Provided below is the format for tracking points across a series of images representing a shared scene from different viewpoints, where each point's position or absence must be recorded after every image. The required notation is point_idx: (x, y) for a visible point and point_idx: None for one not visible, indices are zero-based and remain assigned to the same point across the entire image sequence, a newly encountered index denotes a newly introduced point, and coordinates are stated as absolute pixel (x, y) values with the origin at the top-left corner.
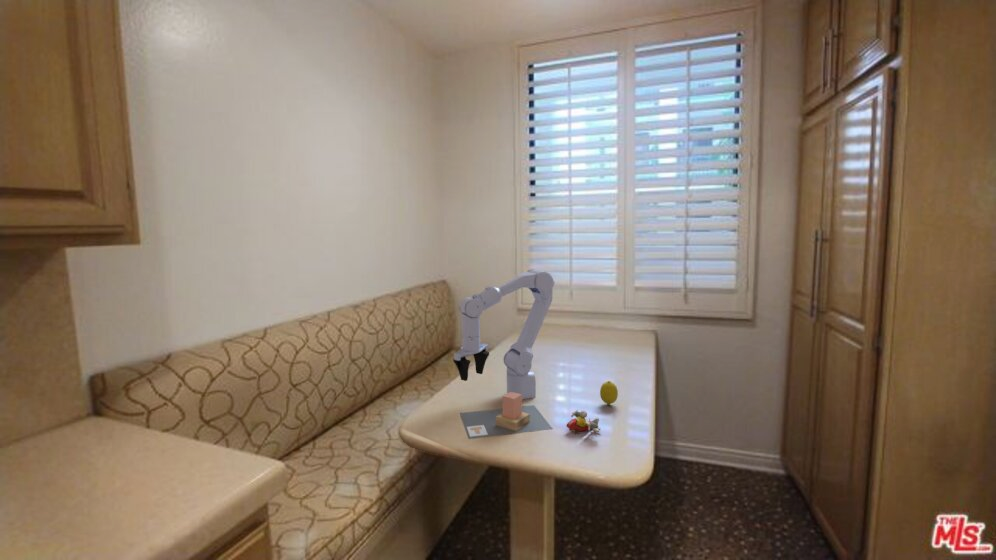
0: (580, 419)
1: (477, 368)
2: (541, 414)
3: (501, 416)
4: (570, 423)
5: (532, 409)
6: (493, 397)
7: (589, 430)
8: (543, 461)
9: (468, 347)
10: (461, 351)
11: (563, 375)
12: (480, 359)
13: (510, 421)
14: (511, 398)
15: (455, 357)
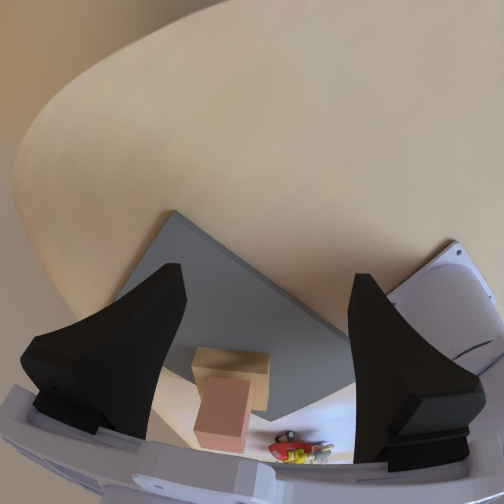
0: (291, 462)
1: (359, 309)
2: (328, 395)
3: (202, 374)
4: (273, 453)
5: (349, 374)
6: (415, 218)
7: (276, 461)
8: (170, 419)
9: None
10: (92, 459)
11: None
12: (364, 404)
13: (199, 393)
14: (199, 443)
15: (13, 412)
